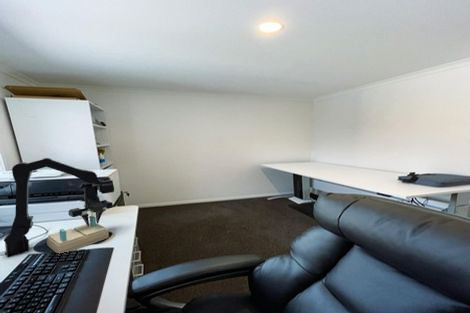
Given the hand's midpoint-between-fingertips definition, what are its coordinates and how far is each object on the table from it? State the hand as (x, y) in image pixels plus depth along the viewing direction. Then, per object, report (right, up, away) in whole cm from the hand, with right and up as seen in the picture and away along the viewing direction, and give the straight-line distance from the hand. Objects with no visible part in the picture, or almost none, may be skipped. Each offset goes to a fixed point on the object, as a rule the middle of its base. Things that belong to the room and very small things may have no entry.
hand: (92, 224), depth 110 cm
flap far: (+1, -1, -4) cm, 4 cm away
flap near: (-4, -2, -12) cm, 13 cm away
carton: (-2, -6, -8) cm, 10 cm away
